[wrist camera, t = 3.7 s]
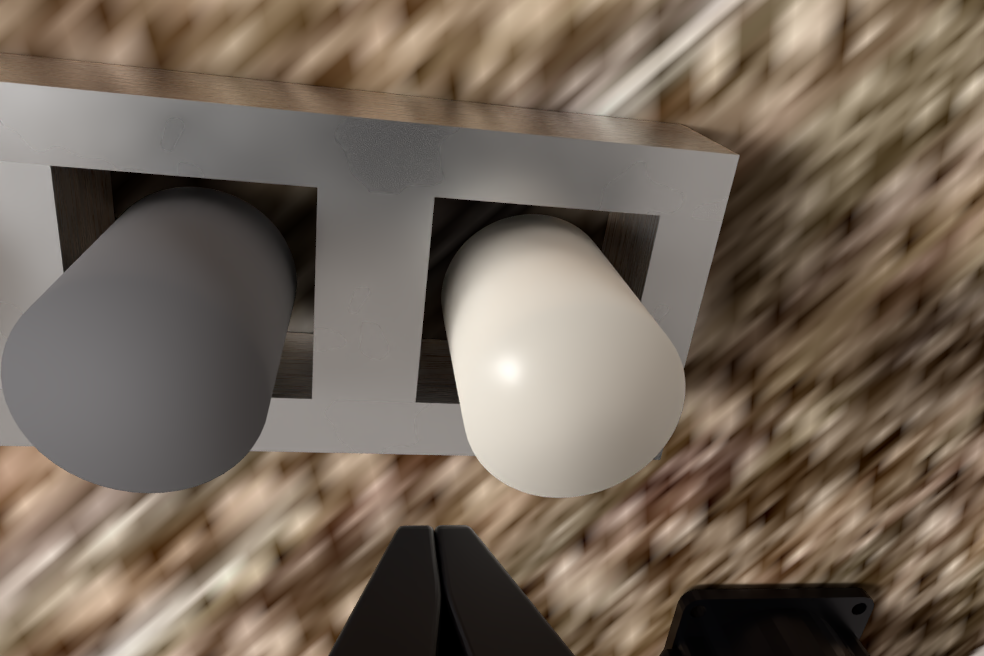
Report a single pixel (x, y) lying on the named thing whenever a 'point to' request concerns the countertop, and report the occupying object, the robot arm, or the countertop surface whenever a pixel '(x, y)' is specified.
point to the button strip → (348, 216)
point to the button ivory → (556, 360)
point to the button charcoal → (156, 345)
